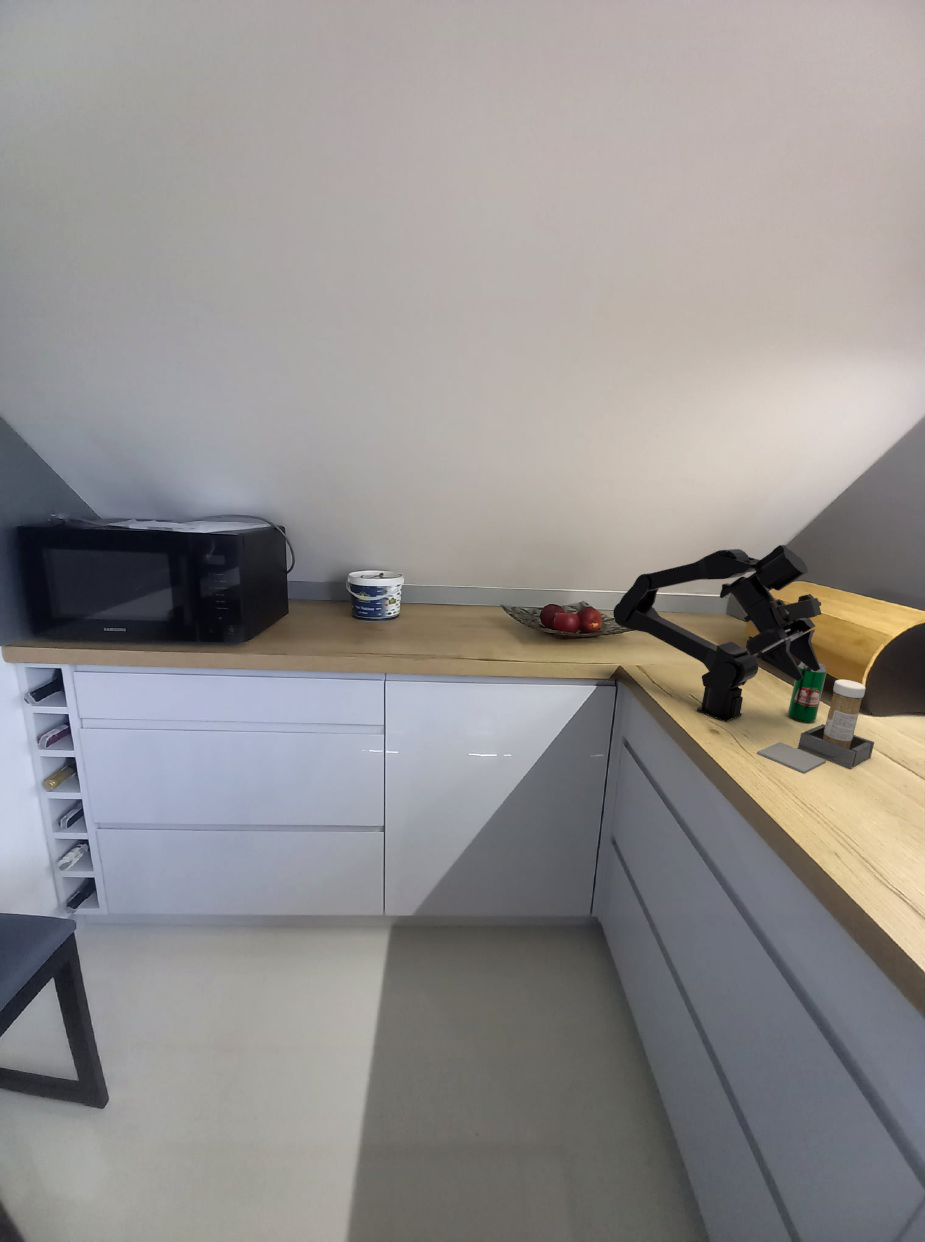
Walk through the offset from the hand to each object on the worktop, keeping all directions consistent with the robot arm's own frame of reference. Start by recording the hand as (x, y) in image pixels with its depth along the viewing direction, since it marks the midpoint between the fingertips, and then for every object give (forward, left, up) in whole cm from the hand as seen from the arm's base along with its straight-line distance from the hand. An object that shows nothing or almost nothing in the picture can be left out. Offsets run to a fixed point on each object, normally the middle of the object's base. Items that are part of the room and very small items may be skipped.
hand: (809, 674), depth 104 cm
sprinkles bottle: (+6, +1, -13) cm, 15 cm away
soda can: (-5, +12, -13) cm, 19 cm away
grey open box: (+6, +1, -13) cm, 15 cm away
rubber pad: (+3, -9, -13) cm, 16 cm away
